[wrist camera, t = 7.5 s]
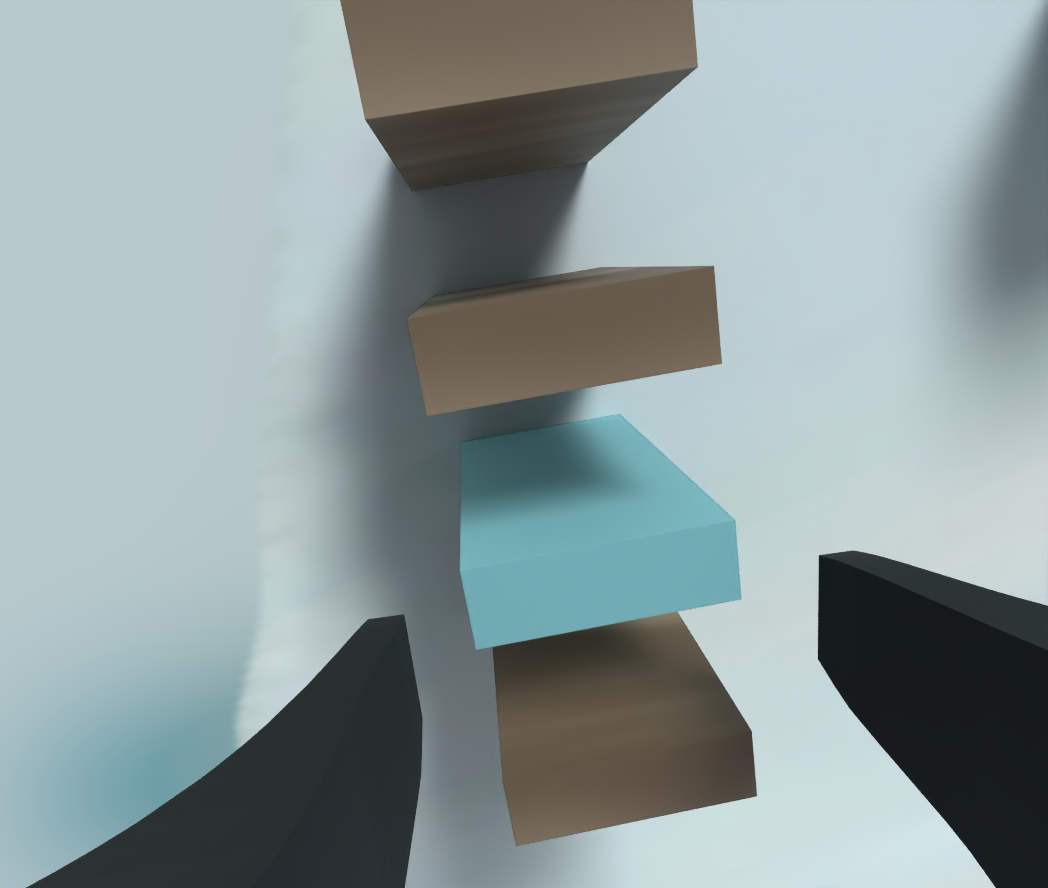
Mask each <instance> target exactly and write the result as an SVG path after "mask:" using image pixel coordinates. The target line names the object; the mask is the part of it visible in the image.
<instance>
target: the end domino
mask: <svg viewBox="0 0 1048 888" xmlns="http://www.w3.org/2000/svg"><path fill="white" fill-rule="evenodd" d="M340 1H341V6H342V11H343V15H344V20H345V25H346V30H347V35H348V39H349V44H350V49H351V54H352V59H353V63H354V68H355V73H356V78H357V83H358V87H359V92H360V97H361V102H362V107H363V111H364V116H365V120H366V122H367V123H368V125H369V126H370V128H371V129H372V131H373V132H374V134H375V135H376V137H377V138H378V140H379V141H380V143H381V144H382V146H383V147H384V149H385V150H386V152H387V153H388V155H389V157H390V158H391V160H392V161H393V163H394V164H395V166H396V167H397V169H398V170H399V172H400V173H401V175H402V176H403V178H404V179H405V181H406V182H407V184H408V185H409V187H410V188H411V190H412V191H414V190H420V189H426V188H432V187H438V186H444V185H450V184H456V183H463V182H469V181H475V180H481V179H487V178H493V177H499V176H505V175H511V174H518V173H524V172H530V171H536V170H542V169H548V168H554V167H560V166H566V165H573V164H579V163H585V162H589V161H590V160H591V159H592V158H593V157H594V156H596V155H597V154H598V153H599V152H600V151H601V150H602V149H604V148H605V147H606V146H607V145H608V144H609V143H611V142H612V141H613V140H614V139H615V138H616V137H617V136H619V135H620V134H621V133H622V132H623V131H624V130H626V129H627V128H628V127H629V126H630V125H631V124H632V123H634V122H635V121H636V120H637V119H638V118H639V117H641V116H642V115H643V114H644V113H645V112H646V111H647V110H649V109H650V108H651V107H652V106H653V105H654V104H656V103H657V102H658V101H659V100H660V99H661V98H662V97H664V96H665V95H666V94H667V93H668V92H669V91H671V90H672V89H673V88H674V87H675V86H676V85H677V84H679V83H680V82H681V81H682V80H683V79H684V78H686V77H687V76H688V75H689V74H690V73H691V72H692V71H694V70H695V69H696V68H697V67H698V64H697V51H696V39H695V27H694V15H693V2H692V0H340Z"/></svg>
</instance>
